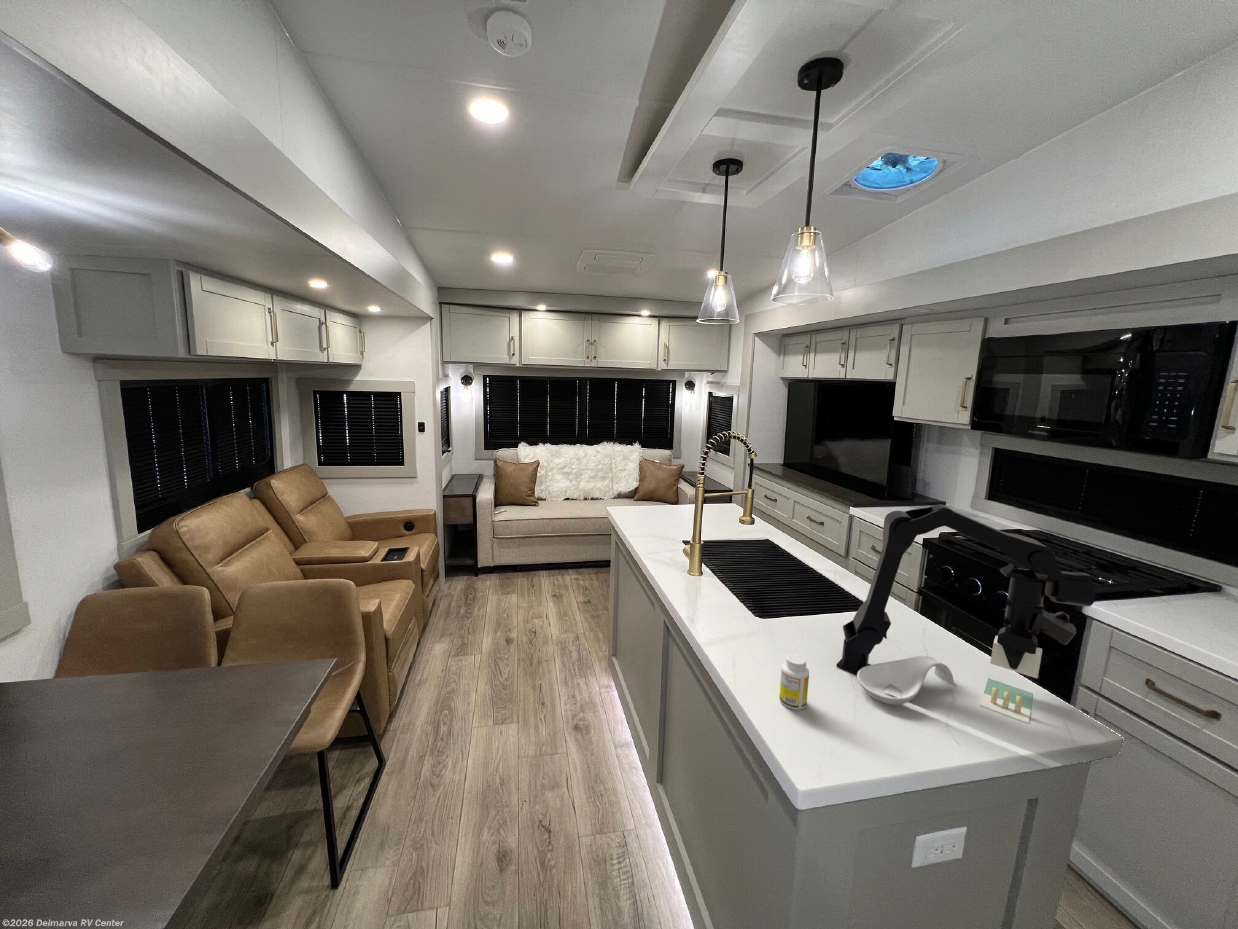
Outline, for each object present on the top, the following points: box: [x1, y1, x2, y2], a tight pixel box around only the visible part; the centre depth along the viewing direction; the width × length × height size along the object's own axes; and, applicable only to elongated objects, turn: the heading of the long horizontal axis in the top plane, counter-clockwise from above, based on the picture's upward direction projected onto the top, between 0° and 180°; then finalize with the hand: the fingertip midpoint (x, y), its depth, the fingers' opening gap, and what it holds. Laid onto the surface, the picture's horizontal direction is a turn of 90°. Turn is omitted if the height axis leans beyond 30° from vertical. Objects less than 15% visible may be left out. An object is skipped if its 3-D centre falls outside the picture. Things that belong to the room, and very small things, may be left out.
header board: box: [979, 677, 1034, 725], centre depth 104 cm, size 14×8×5 cm, turn 137°
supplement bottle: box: [779, 653, 810, 711], centre depth 103 cm, size 6×6×10 cm
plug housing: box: [989, 635, 1043, 679], centre depth 105 cm, size 4×8×5 cm, turn 47°
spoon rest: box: [856, 655, 955, 706], centre depth 108 cm, size 24×12×7 cm, turn 109°
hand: (1014, 664), depth 106 cm, fingers closed on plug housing, 4 cm apart
